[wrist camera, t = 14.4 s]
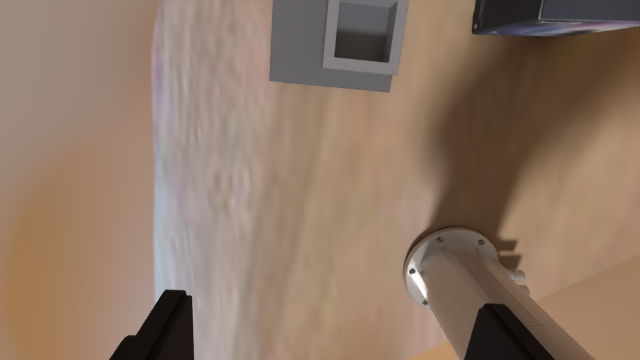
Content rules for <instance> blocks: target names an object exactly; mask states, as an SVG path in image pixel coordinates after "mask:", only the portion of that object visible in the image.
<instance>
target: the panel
mask: <svg viewBox="0 0 640 360" xmlns="http://www.w3.org/2000/svg"><path fill="white" fill-rule="evenodd" d="M408 4H409V0H273V12H272V35H271V57H270V80H269V81H276V82H286V83H296V84H307V85H317V86H328V87H338V88H348V89H359V90H369V91H380V92H390V85H391V79H392V75H397V73H398V67H399V61H400V54H401V48H402V42H403V35H404V29H405V23H406V16H407V10H408Z"/></svg>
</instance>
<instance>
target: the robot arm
mask: <svg viewBox="0 0 640 360" xmlns="http://www.w3.org/2000/svg"><path fill="white" fill-rule="evenodd" d="M403 277H404V282H405V286H406V288H407V290H408V292H409V294H410V296H411V297H412V299H413V300H414V301H415V302H416V303H417V304H419V305H420V306H422V307H424V308H426V309H428V310H431V311H433V313H434V315H435V317H436V319H437V320H438V322H439V324H440V326H441V328H442V329H443V331H444V333H445V335H446V337H447V338H448V340H449V342H450V344H451V345H452V347H453V349H454V351H455V353H456V354H457V356H458V358H459V360H595V359H594V358H593V357H592V356H591V355H590V354H589V353H588V352H587V351H586V350H585V349H584V348H583V347H582V346H580V345H579V344H578V343H577V342H576V341H575V340H574V339H573V338H572V337H571V336H570V335H569V334H568V333H567V332H566V331H565V330H564V329H563V328H562V327H561V326H560V325H559V324H558V323H557V322H556V321H554V320H553V319H552V318H551V317H550V316H549V315H548V314H547V313H546V312H545V311H544V310H543V309H542V308H541V307H540V306H539V305H538V304H537V303H536V302H535V301H534V300H533V299H532V298H531V297H530V292H529V289H528V288H527V286H525V285H517V284H516V283H515V282H514V281H524V280H525V274H524V272H523V271H522V270H507V269H506V268H505V267H504V266H503V265H502V264H500V263H499V257H498V254H497V251H496V249H495V247H494V246H493V244H492V243H491V242H490V241H489V240H488V239H487V238H486V237H484V236H483V235H482V234H481V233H479V232H477V231H475V230H472V229H468V228H464V227H451V228H445V229H442V230H438V231H436V232H434V233H431V234H429V235H428V236H426V237H425V238H423V239H422V240H421V241H420V242H419V243H418V244H417V245H416V246H415V247H414V248H413V249H412V251H411V252H410V253H409V255H408V258H407V260H406V262H405V266H404V275H403ZM109 360H194V342H193V311H192V296H190V295H186V291H185V290H165V291H164V292H163V294H162V295H161V297H160V298H159V300H158V301H157V303H156V305H155V306H154V308H153V309H152V311H151V313H150V314H149V316H148V317H147V319H146V320H145V322H144V323H143V325H142V327H141V328H140V330H139V331H138V333H137V334H136V335H129V336H127V337H125V338H124V339H123V341H122V342H121V343H120V345H119V346H118V347H117V349H116V351H115V352H114V353H113V355H112V356H111V358H110V359H109Z"/></svg>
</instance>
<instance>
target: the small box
mask: <svg viewBox="0 0 640 360" xmlns="http://www.w3.org/2000/svg"><path fill="white" fill-rule="evenodd" d="M473 17H474V18H473V28H472V34H481V35H507V36H539V37H565V36H573V35H580V34H588V33H595V32H602V31H610V30H617V29H624V28H630V27H637V26H640V0H477V1H476V7H475V14H474V16H473Z"/></svg>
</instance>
